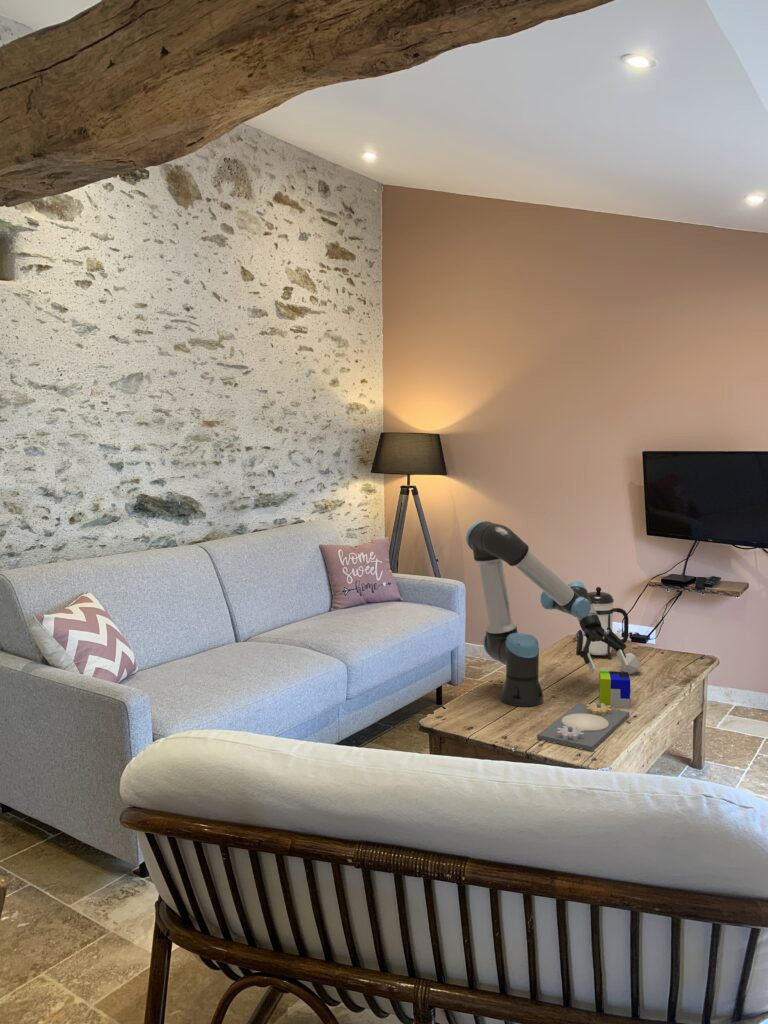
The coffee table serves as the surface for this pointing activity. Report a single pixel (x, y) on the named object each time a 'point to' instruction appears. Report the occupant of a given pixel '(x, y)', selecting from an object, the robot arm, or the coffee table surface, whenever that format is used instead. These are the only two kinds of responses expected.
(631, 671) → the die
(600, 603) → the coffee press
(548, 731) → the gear board
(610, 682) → the puzzle toy
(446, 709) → the coffee table surface
